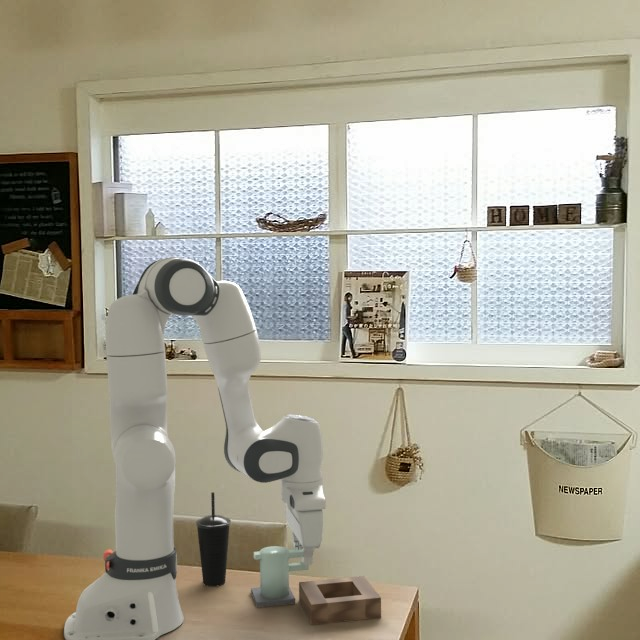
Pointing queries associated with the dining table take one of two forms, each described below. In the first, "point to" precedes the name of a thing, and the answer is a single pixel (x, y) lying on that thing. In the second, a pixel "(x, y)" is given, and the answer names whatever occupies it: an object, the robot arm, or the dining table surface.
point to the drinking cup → (213, 546)
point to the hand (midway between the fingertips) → (302, 556)
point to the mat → (264, 602)
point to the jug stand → (339, 600)
